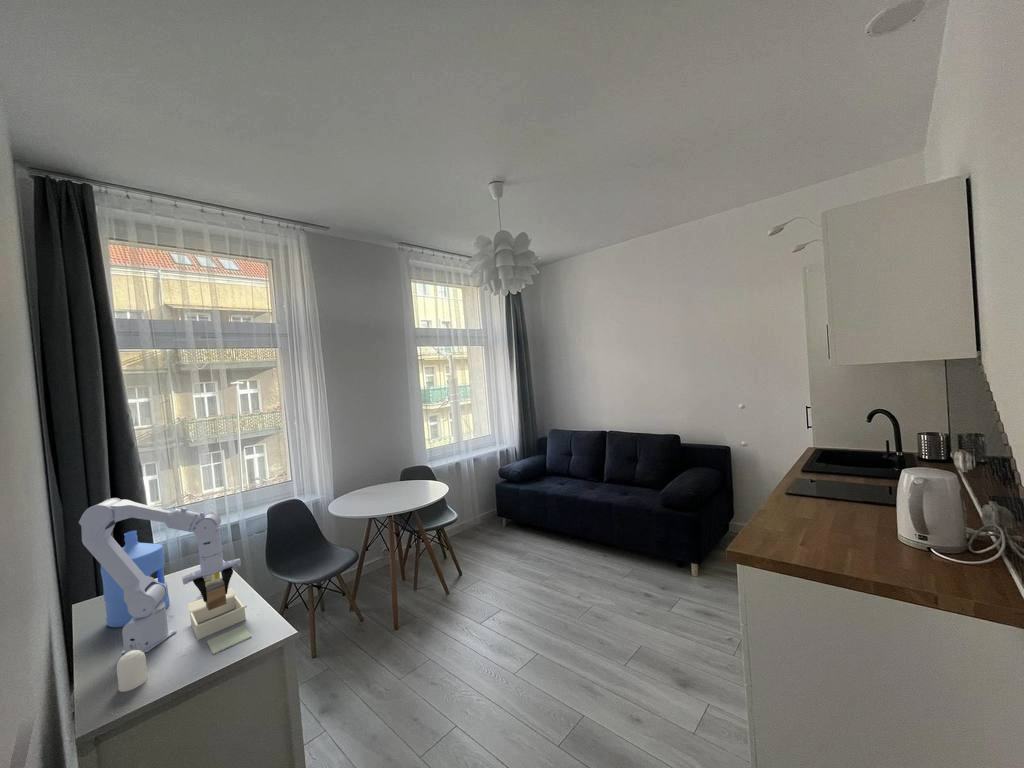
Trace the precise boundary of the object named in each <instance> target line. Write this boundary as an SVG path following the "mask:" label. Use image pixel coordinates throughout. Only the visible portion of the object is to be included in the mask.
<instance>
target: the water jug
mask: <svg viewBox="0 0 1024 768" xmlns="http://www.w3.org/2000/svg"><path fill="white" fill-rule="evenodd" d="M137 532H138V531H137V530H131V531H128V532H125V533H124V534H123V535H124V539H123V540H124V543H125V544H124V546H123V547H121V548H122V549H123V550H124V551H125V552H126V554H127V555H128V556H129V557H130V558H131V559H132V561H133V562H134V563H135V564H136V565H137V566H138V568H139V569H140V570H141V571H142V572H143V573H144V575H145V576H149V577H152V574H154V573H155V572H156V575H157V582H160V583H162V584H164V585H165V586H166V588H167V593H166V595H165V597H164V598H163V601H164V603H165V607H166V608H168V607H169V605H170V602H171V601H170V596H169V589H168V584H167V582H166V581H165V580H166V579H165V571H164V567H165V565H166V563H165V550H164V546H163V545H162V544H160V543H151V542H150V543H148V542H139V541H138V535H137ZM100 575H101V578H102V588H103V593H102V594H103V595H102V596H103V600H104V604H105V605H104V606H105V612H106V613H105V614H106V618H105V619H106V621H105V622H106V625H107V626H108V627H110V628H124V626H125V625H126V624H128V623H129V622H130V621H131V619H132V618H133V616H131V615H130V614H129V612H128V607H127V604H126V603H125V601H124V590H123V589H122V588H121V587H120V586H119V585H118V583H117V582H116V581H115V580H114V579H113V578H112V577H111V575H110V574H109V573H108V572H107V571H106V570H105V569H104V567H103V566H102V565H101V564H100Z"/></svg>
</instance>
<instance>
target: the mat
mask: <svg viewBox="0 0 1024 768" xmlns="http://www.w3.org/2000/svg"><path fill="white" fill-rule="evenodd" d="M251 638H252V635H251V632H249V630H248V629H247V628H246V627H245V625H244V624H243V625H240V626H238V627H236V628H233V629H231V630H229V631H226V632H224V633H222V634H220V635H218V636H214V637H212V638H210V639H208V640H207V641H206V642H207V645H208V646H209V649H210V651H211V654H212V655H213V654H214V655H216V654H219V653H220V652H219V651H221V650H223V651H224V649H225V650H227V649H229V648H231V647H230V646H232V647H233V645H234V646H236V645H238V644H240V643H242V642H245V641H247V640H249V639H251ZM228 647H229V648H228ZM226 648H227V649H226ZM221 652H222V651H221ZM215 653H216V654H215Z"/></svg>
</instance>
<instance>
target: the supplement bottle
mask: <svg viewBox="0 0 1024 768" xmlns="http://www.w3.org/2000/svg"><path fill="white" fill-rule="evenodd" d="M220 573H221V572H218V573H215V574H212V575H209V576H206V577H203V578H204V581H205V583H207V582H210V581H213V580H216V579H219V578H221V574H220Z"/></svg>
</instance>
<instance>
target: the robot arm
mask: <svg viewBox="0 0 1024 768" xmlns="http://www.w3.org/2000/svg"><path fill="white" fill-rule="evenodd" d="M188 509H189V508H187V507H182V508H175V509H173V510H167V509H163V508H159V507H157V506H152V505H148V504H143V503H140V502H135V501H133V500H130V499H125V498H124V499H120V498H118V497H112V498H107V499H105V500H103V501H102V502H100V503H97V504H95V505H93V506H90V507H88V508H86V510H84V511H83V513H82V515H81V517H80V519H79V520H78V524H79V525H80V527H81V542H82V544H83V546H84V547H85V548H86V549H87V550H88V551H89V553H90V554H91V555H92V556H93V557H94V559H96V561H97V562H98V563H99V565H100V566H101V565H102V566H103V567H104V569H105V570H106V571H107V572H108V573H109V574H110V575H111V577H112V578H113V579H114V580H115V581H116V582H117V583H118V585H119V586H120V587H121V588H122V589H123V590H124V601H125V603H126V604H127V607H128V612H129V614H130V615H131V616H133V618H132V619H131V621H130V622H129V623H128V624H126V625H125V626H124V627H122V630H121V631H122V632H121V634H122V643H123V650H122V651H121V654H126V653H127V652H129V651H132V650H140V651H142V652H144V654H145V653H148V652H149V651H151V650H152V649H154V648H155V647H157V646H158V645H159V644H161V643H162V642H164V641H166V640H167V639H168V638H170V637H171V636H172V635H174V634H175V633H177V632H178V631H177V630H176V629H173V630H171V629H170V630H169V627H168V626H169V625H168V617H167V607H165V603H164V601H163V598H164V597H165V595H166V593H167V588H168V587H167V588H166V586H165V585H164V584H162V583H160V582H158V580H156V579H155V578H154V577H152V576H150V577H149V576H145V575H144V573H143V572H142V571H141V570H140V569H139V568H138V566H137V565H136V564H135V563H134V562H133V561H132V559H131V558H130V557H129V556H128V555H127V554H126V552H125V551H124V550H123V549H122V548H123V547H122V546H121V545H120V544H119V543H118V542H117V540H115V538H114V537H113V536H112V532H113V530H114V528H115V525H116V523H118V522H120V521H123V520H124V521H125V520H127V519H138V520H139V519H140V520H147V521H152V522H159V523H164V524H165V526H166V528H168V529H172V530H178V531H183V532H188V533H193V534H194V535H195V536H196V537H197V546H198V557H199V565H200V569H198V570H196V571H193V572H191V573H189V574H186V575H183V576H182V577H181V578H182V579H181V580H182V584H183V586H184V585H188V584H189V583H191V582H193V584H194V585H195V587H196V588H197V589H198V591H199V592H200V595H201V597H202V598H203V601H204V602H207V595H206V589H205V581H204V578H203V577H206V576H209V575H212V574H215V573H218V572H219V573H221V574H220V575H221V578H222V579H223V581H224V584H225V594H227V591H228V589H229V584H230V581H231V579H232V576H233V574H234V569H233V568H236V567H240V566H241V565H242V564H241V563H242V562H241V559H240V558H235V559H231V560H227V561H224V557H223V547H222V538H221V532H220V528H219V527H220V526H221V524H222V523H221V521H222V519H221V517H220V516H219V515H218V514H216V513H214V512H208V513H206V512H204V511H201V512H199V511H198V512H196V511H192V510H188Z"/></svg>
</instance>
